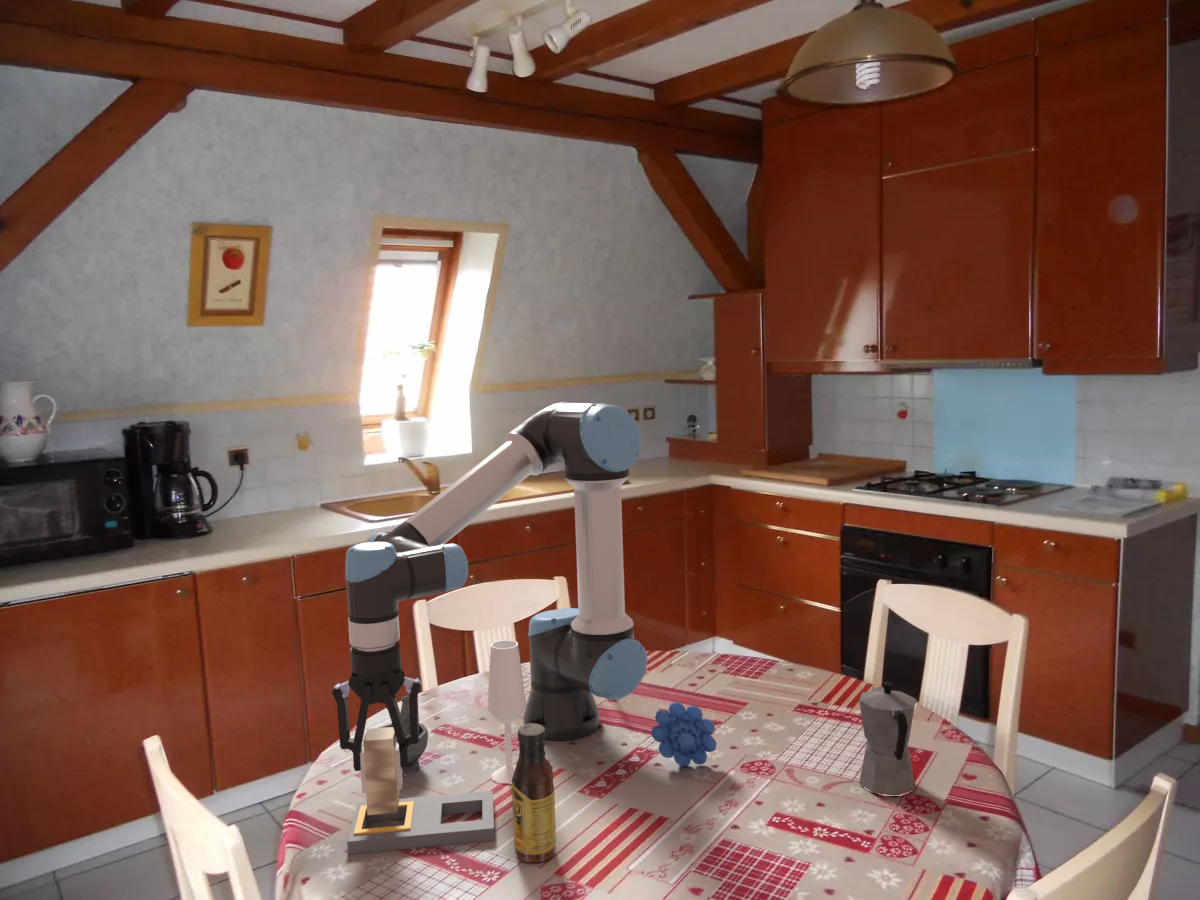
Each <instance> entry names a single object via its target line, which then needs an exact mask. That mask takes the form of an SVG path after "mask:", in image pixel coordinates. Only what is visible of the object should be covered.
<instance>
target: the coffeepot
mask: <svg viewBox="0 0 1200 900" xmlns="http://www.w3.org/2000/svg"><path fill="white" fill-rule="evenodd" d="M882 685H883V686H878V687H877V688H876V687H874V686H873V687H871V690H868V691H863V692H861V695H860V698H859V700H858V701H859V707H860V714H861V720H862V721H861V722H862V728H863V734H864V737H865V738H866V744H865V749H864V750H865V751H864V755H863V761H862V766H861V770H860V771H861V772H860V778H859V782H858V783H860V784H861V785H863V786H864V787H866V788H867V789H869V790H870V791H871V792H872V793H871V792H870V793H871V794H873V793H880V794H887V795H894V796H895V795H900V794H903V793H907V792H910V791H912V790H914V787H913V784H914V785H915V779H914V778H915V777H914V773H913V766H912V760H911V753H910V749H909V744H908V743H909V742H910V741H909V740H910V737H911V731H912V730H911V729H912V724H913V718H914V711H915V705H916V702H917V701H916V700H917V699H916V698H915V697H913V696H911V695H909V694H907V693H904V692H903V691H899V690H898V691H897V690H892V689H893V683H892V682H889V681H885V682H882ZM860 784H859V785H860ZM861 785H860V786H861Z"/></svg>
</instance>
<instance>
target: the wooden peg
mask: <svg viewBox="0 0 1200 900" xmlns="http://www.w3.org/2000/svg"><path fill="white" fill-rule="evenodd" d="M396 743H397V740H396V735H395V732H394V728H393V727H386V728H379V727H375V728H366V729H365V732H364V736H363V741H362V746H364V763H365V781H366V793H365V797H366V802H367V815H375V814H387V813H397V810H398V804H399V799H400V790H397V789H396V769H395V746H396Z"/></svg>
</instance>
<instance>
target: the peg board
mask: <svg viewBox="0 0 1200 900" xmlns="http://www.w3.org/2000/svg"><path fill="white" fill-rule="evenodd" d="M478 812H479V813H480V812H481V813H482V817H481V818H482V819H479V820H469V821H468V820H467V821H459V822H457V821H456V822H447V823H443V817H444V816H445V815H446V816H447V815H456V814H458V815H459V814H469V813H478ZM494 813H495V812H494V791H493V790H489V791H487V790H486V791H475V792H474V791H473V792H465V793H464V792H463V793H451V794H441V795H440V794H439V795H431V796H430V795H428V796H418V797H417V796H416V797H408V798H407V797H406V798H399V804H398V810H397V813H387V814H375V815H367V801H360V802H357V803H356V807H355V811H354V814H353V819H352V823H351V825H350V830H349V834H348V837H347V841H346V845H347V854H348V855H353V854H361V853H362V854H363V853H374V852H375V853H376V852H385V851H395V850H396V851H397V850H405V849H418V848H419V849H420V848H426V847H427V848H429V847H438V846H452V845H459V844H460V845H461V844H472V843H479V842H480V843H483V842H491V841H492V842H493V841H496V840H495V814H494ZM400 819H401V820H403V819H404V824H403V825H395V826H394V825H393V826H383V827H382V826H381V827H372V828H366V827H367V823H368V822H378V821H392V820H400Z"/></svg>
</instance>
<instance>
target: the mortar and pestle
mask: <svg viewBox="0 0 1200 900" xmlns="http://www.w3.org/2000/svg"><path fill="white" fill-rule="evenodd" d="M400 701H401V707H400V714H401V717H402V720H403V724H404V727H405V730H406V733H407V735H408V734H410V715H409V695H404V696H401V700H400ZM386 727H393V725H392V722H391V723H388V724H384V726H380V727H378V728H386ZM428 732H429V730H428V729H427V727H426V725H424V724H423V723H421V722H419V739H418V742H417V743H416V744H411V745H409V746H408V757H409V761H408V765H407V767H402V775H407V776H409V775H408V774H410V775H412V774H414V773H413V772H415V771H416V770H417V769H420V763H419V759H420V758H421V757H422V755H423V754H424V753H425V750H426V748H428V747H427V746H428V742H429V733H428ZM396 740H397V738H396ZM397 743H398V741H397ZM417 771H418V770H417ZM417 771H416V772H417ZM416 772H415V773H416ZM411 773H412V774H411Z"/></svg>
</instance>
